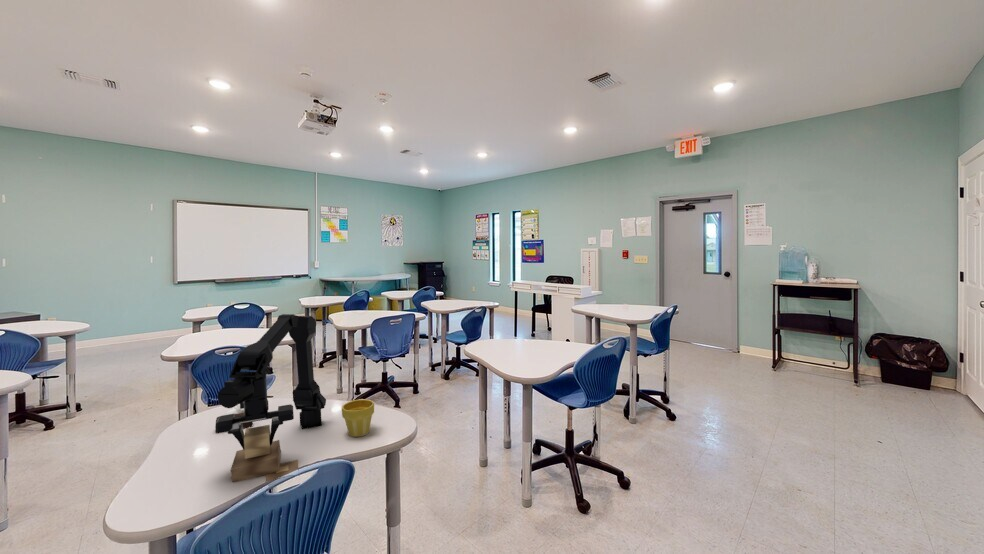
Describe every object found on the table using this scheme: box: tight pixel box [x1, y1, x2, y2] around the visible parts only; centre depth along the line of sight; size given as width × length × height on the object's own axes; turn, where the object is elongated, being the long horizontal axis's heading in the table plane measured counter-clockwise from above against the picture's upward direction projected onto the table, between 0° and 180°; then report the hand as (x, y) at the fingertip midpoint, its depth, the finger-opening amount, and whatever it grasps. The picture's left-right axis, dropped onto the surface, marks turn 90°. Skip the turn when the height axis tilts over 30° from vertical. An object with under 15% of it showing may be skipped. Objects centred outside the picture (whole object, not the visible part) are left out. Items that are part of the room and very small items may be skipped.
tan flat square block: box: [230, 439, 282, 483], centre depth 114 cm, size 11×11×4 cm
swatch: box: [265, 459, 299, 482], centre depth 112 cm, size 8×8×1 cm
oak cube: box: [244, 424, 271, 459], centre depth 113 cm, size 6×6×6 cm
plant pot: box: [341, 398, 375, 438], centre depth 136 cm, size 10×10×10 cm
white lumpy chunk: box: [224, 404, 244, 415], centre depth 147 cm, size 6×8×12 cm
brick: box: [215, 413, 254, 429], centre depth 139 cm, size 11×4×5 cm, turn 118°
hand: (258, 447), depth 114 cm, fingers closed on oak cube, 6 cm apart
